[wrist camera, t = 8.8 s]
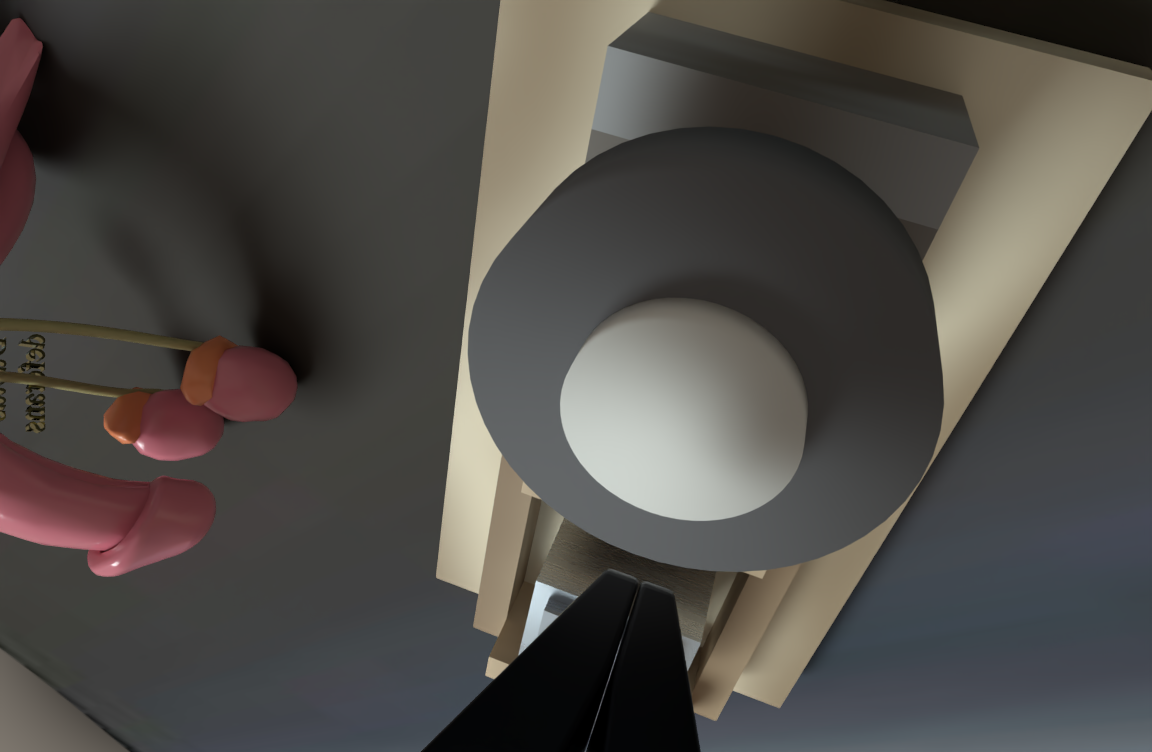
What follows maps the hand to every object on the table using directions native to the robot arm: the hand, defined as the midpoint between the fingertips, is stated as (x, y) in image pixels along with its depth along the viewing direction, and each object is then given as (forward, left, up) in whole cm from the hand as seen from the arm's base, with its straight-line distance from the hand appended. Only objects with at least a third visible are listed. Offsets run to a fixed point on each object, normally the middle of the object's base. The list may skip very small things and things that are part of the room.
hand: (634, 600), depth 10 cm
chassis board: (0, +5, -11) cm, 12 cm away
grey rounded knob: (0, -1, -7) cm, 7 cm away
